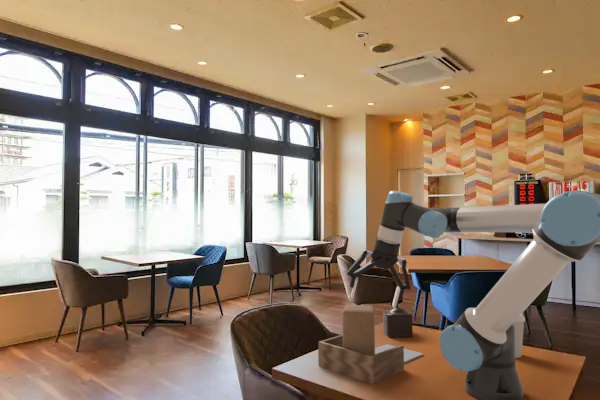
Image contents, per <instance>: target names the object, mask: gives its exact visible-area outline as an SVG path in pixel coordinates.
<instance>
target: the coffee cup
mask: <svg viewBox="0 0 600 400" xmlns="http://www.w3.org/2000/svg"><path fill="white" fill-rule="evenodd" d="M525 322H526V318H525V315H524V314H523V313H522V314H521V315H520V316H519V317H518V318H517V319H516V320H515V322H514V325H515V328H514V329H515V359H519V358H522V355H523V341H524V324H525Z"/></svg>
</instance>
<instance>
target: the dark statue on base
mask: <svg viewBox="0 0 600 400" xmlns="http://www.w3.org/2000/svg"><path fill="white" fill-rule="evenodd" d="M405 292H406V291H405V290H404V291H403V294H402V298H401V299H398V300H397V304H396V308H395V309H394V308H393V307H392V308H389V309H383V310H382V322H383V333H384V334H385V335H386V336H387V337H388V338H391V339H392V338H398V339H399V338H413V337H414V335H413V333H414V330H413V315H412V313H411V312H409V310H407V309H406V306H404V307H400V306H399V301H402V300H404V299H405V297H404V294H405Z"/></svg>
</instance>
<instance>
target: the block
mask: <svg viewBox="0 0 600 400" xmlns="http://www.w3.org/2000/svg"><path fill="white" fill-rule="evenodd" d="M375 328H376V327H375V307H374V306H373V305H365V304H364V305H361V304H346V305H345V307H344V308H343V311H342V335H343V348H345V349H349V350H352V351H356V352H359V353H363V354H366V355H369V356H372V355H375V348H376V342H375V341H376V340H375V336H376V335H375V332H376V331H375Z"/></svg>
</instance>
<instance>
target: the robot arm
mask: <svg viewBox="0 0 600 400" xmlns="http://www.w3.org/2000/svg"><path fill="white" fill-rule="evenodd" d="M379 224H380V225H379V228H378V231H377V238H376V240H375V243H374V246H373V249H372V251H370V250H367V248H363V249H362V253H361V255H359V257H358V258H357V259H356V260H355V261H354V262H353V264H351V265H350V266H349V268H348V269H347V271H346V272H347V276H350V277H351V279H350V282H349V286H350V288H351V289H352V290H351V292H350V293H351V294H350V299H354V298H355V297H354V296H355V294H356V289H357V285H358V281H359V277H360V276H361V275H363V274H364V273H365V272H367V271H369V270H370V269H372V268H374V267H376V268H378V269H383V270H385V271H386V270H390V272H391V274H392V275H393V278H394V279H395V281H396V282H397V285H398V286H396V288H395V292H394V296H393V299H392V304H391V305H392V308H394V309H395V308H396V304H397V300H398V299H401V298H402V294H403V291H405V290H410V289H411V287H412V286H411V284H410V279H409V275H408V270H407V263H408V262H407V259H406V257H402V258H401V257H398V256H399V255H398V254H399V252H400V251H399V250H400V247H401V242H402V240H403V236H404V232H405V229H406V228H407V229H410V230H411V231H414V232H417V233H419V234H422V235H423V236H426V237H430V238H432V239H438V238H440V236H443V234H444V233H532V236H533V239H532V240H531V242H530V243H529V244H528V245H527V246H526V247H525V248H524V250H522V252H521V253H520V255H518V257H517V258H516V259H515V260H514V261H513V263H512V264H511V265H510V266H509V267H508V269H507V270H506V271H505V272H504V273H503V275H502V276H501V277H500V278H499V280H498V281H497V282H496V283H495V284H494V286H493V287H492V288H491V289H490V290H489V291H488V293H487V294H486V295H484V296H485V297H484V298H482V300H481V301H480V302H479V304H478V305H476V307H468V308H466V309H465V311H463V313H462V314H461V315H460V316H459V317H458V318H457V320H456V321H455V323H453V324H451V325H447V326H446V327H445V328H443V330H441V331H442V332H441V333H440V334H439V339H438V340H439V342H438V343H439V347H440V351H441V354H442V356H443V358H444V359H445V361H446V362H447V363H448V364H449V365H451V366H452V368H455V369H456V370H459V371H463V372H467V373H466V377H465V379H464V390H465V391H466V393H468V395H470V396H472V397H474V398H476V399H478V400H523V399H524V387H523V385H522V382H521V379H520V376H519V373H518V371H517V368H516V358H515V329H514V328H515V325H514V322H515V320H516V319H517V318H518V317H519V316H520V315H521V314H523V313H524V312H525V311H526V310H527V309H528V307H530V305H531V304H532V303H533V302H534V301H535V300H536V298H538V296H539V295H540V294H541V293H542V292H543V291H544V290H545V289H546V288H547V286H548V285H549V284H551V282H552V281H553V280H554V279H555V278H556V276H558V274H560V272H561V271H562V270H563V269H564V268H565V267H566V266H567V264H568V263H571V262H573V263H574V262H581V261H582V259H583V258H584V257H585V256H586V255H587V254H588V253H589V252H590V251H591V250H592V248H594V247H595V245H597V243H599V242H600V193H598V192H589V191H584V190H569V191H565V192H562V193H559V194H557V195H554V196H553V197H551V198H550V199H549V200H548V201H547V202H546V203H531V204H530V203H529V204H509V205H508V204H507V205H485V206H462V207H425V206H422V205H420V204H417V203H414V202H413V195H411V194H410V193H407V192H403V191H399V190H390V191H389V192H388V193H387V197H386V200H385V202H384V207H383V212H382V218H381V221H380V223H379ZM369 257H371V259H370V260H369V261H368V262H367V263H365V264H364V265H362V266H361V267H360V268H359V266H360V265H361V264H362V263H363V262H364V261H365V259H366V258H369ZM397 263H398V264H399V266H400V267H401V270H402V275H403V280H404V283H403V281H402V280H401V278H400V276H399V274H398V272H397V270H396V269H395V265H396V264H397ZM398 301H399V300H398Z"/></svg>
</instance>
